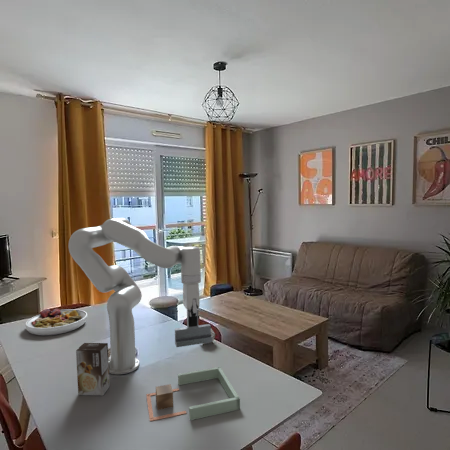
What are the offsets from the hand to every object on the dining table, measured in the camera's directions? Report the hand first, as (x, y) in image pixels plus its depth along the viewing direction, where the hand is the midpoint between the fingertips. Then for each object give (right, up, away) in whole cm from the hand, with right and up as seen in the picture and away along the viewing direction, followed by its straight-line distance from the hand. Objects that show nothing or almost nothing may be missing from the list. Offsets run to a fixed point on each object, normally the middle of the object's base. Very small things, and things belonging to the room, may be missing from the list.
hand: (192, 324), depth 124 cm
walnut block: (-7, -20, -20) cm, 29 cm away
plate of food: (-79, -17, +50) cm, 95 cm away
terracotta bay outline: (-7, -20, -20) cm, 29 cm away
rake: (0, -7, 0) cm, 7 cm away
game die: (+5, -17, +26) cm, 31 cm away
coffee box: (-34, -20, -12) cm, 41 cm away
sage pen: (+7, -19, -16) cm, 26 cm away
